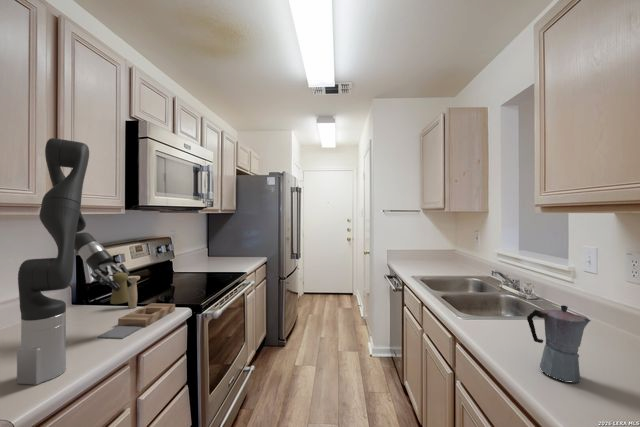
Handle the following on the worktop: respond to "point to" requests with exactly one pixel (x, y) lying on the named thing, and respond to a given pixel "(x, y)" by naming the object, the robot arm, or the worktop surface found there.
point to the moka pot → (560, 342)
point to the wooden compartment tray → (146, 315)
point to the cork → (122, 294)
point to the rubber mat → (119, 332)
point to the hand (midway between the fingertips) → (124, 287)
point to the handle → (133, 291)
